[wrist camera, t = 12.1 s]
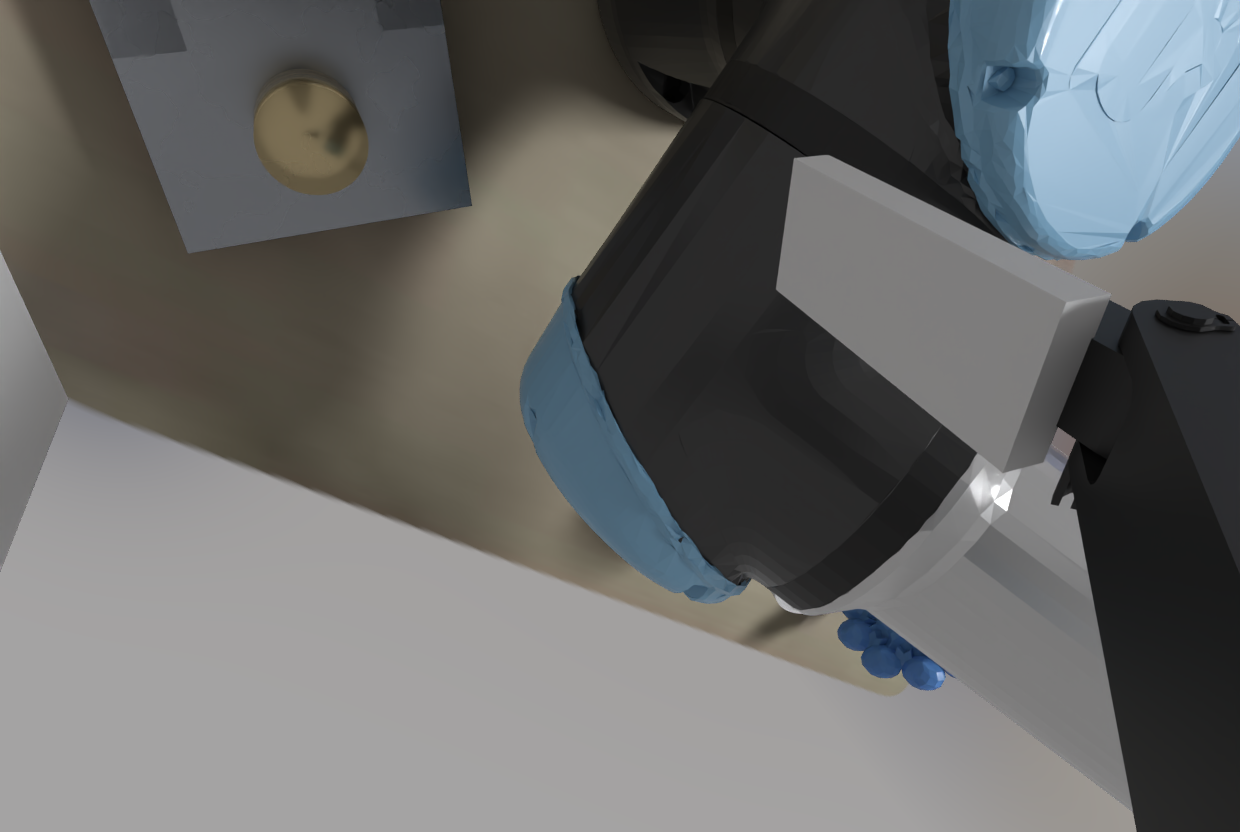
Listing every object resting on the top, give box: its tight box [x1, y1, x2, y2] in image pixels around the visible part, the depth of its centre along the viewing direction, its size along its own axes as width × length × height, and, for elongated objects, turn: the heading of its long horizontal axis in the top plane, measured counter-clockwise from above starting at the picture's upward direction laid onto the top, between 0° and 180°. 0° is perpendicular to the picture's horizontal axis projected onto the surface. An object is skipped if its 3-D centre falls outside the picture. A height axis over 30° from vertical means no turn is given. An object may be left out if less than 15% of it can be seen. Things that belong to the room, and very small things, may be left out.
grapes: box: [837, 609, 957, 690], centre depth 65 cm, size 12×7×12 cm, turn 108°
